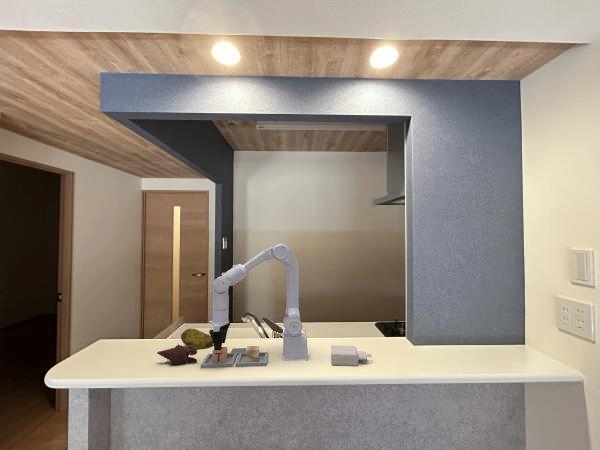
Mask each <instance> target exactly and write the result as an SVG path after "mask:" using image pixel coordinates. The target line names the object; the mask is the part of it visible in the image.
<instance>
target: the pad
mask: <svg viewBox="0 0 600 450" xmlns="http://www.w3.org/2000/svg"><path fill="white" fill-rule="evenodd" d="M246 349H247V347H238V348H237V347H235V348H234V347H233V348H232V349H231V350H230V353H237V356H239V353H246Z"/></svg>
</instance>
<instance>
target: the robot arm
mask: <svg viewBox="0 0 600 450" xmlns="http://www.w3.org/2000/svg"><path fill="white" fill-rule="evenodd" d="M274 259H275V260H276V261H279V262H280V263H281V264H282V265H283V266H284V267H286V296H285V297H286V302H285V303H286V305H285V315H284V317H283V321H282V323H283V324H282V325H283V327H284V330H283V332H282V336H283V337H282V352H281V360H282V362H283V361H284V362H285V361H287V362H288V361H308V353H309V352H308V350H309V349H308V334H307V333H304V332H302V330H303V323H302V321H301V315H300V307H299V306H300V305H299V303H300V302H299V299H300V298H299V297H300V296H299V294H300V291H299V289H300V287H299V286H300V285H299V284H300V282H299V281H300V278H299V277H300V273H299V272H300V263H299V261H298V260H297V258H296V256H295V254H294V253H293V251H292V248H290V247H289V246H287V245H286V244H284V243H278V244H274V245H273V246H272V247H268V248H267V249H264V250H263V251H261V252H260V253H258V254H257V255H255V256H254V257H252V258H251V259H249V260H248V261H246V263H244V264H241V263H238V264H234V265H232V268H230V269H229V270H227V271H226V272H222V273H221V276H218V277H217V278H215V279H214V280H213V283H212V289H213V296H212V320H209V322H208V323H209V325H212V327H213V329H209V331H208V332H209V333H208V334H209V335H210V336H211V337H212V340H213V344H212V346H213V350H221V347H223V344H225V343H226V341H227V334H228V331H229V329H230V326H231V322H230V320H229V305H230V303H229V302H230V296H229V288H230V287H233V286H235V285H236V284H237V283H240V281H242V280H244V279H245V278H246V277H248V276H247V275H248V272H249V271H251V270H252V269H254V268H255V267H257V266H259V265H260V264H262V263H264V262H265V261H272V260H274Z"/></svg>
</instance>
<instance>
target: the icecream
mask: <svg viewBox="0 0 600 450" xmlns="http://www.w3.org/2000/svg"><path fill="white" fill-rule="evenodd" d="M157 354H158V356H161V357H162V358H164V359H166V360H168V361H170V363H171V366H174V365H182V364H184V363H185V362H186V363H190V364H196V363H197V362H198V359H197V358H195V357H192V356H196V355H197V354H198V349H194V348H190V349H188V348H187V347H186V346H184V345H182V344H181V345H180V344H177V345H176V346H175V347H172V348H168V349H164V350H160V351H157Z"/></svg>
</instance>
